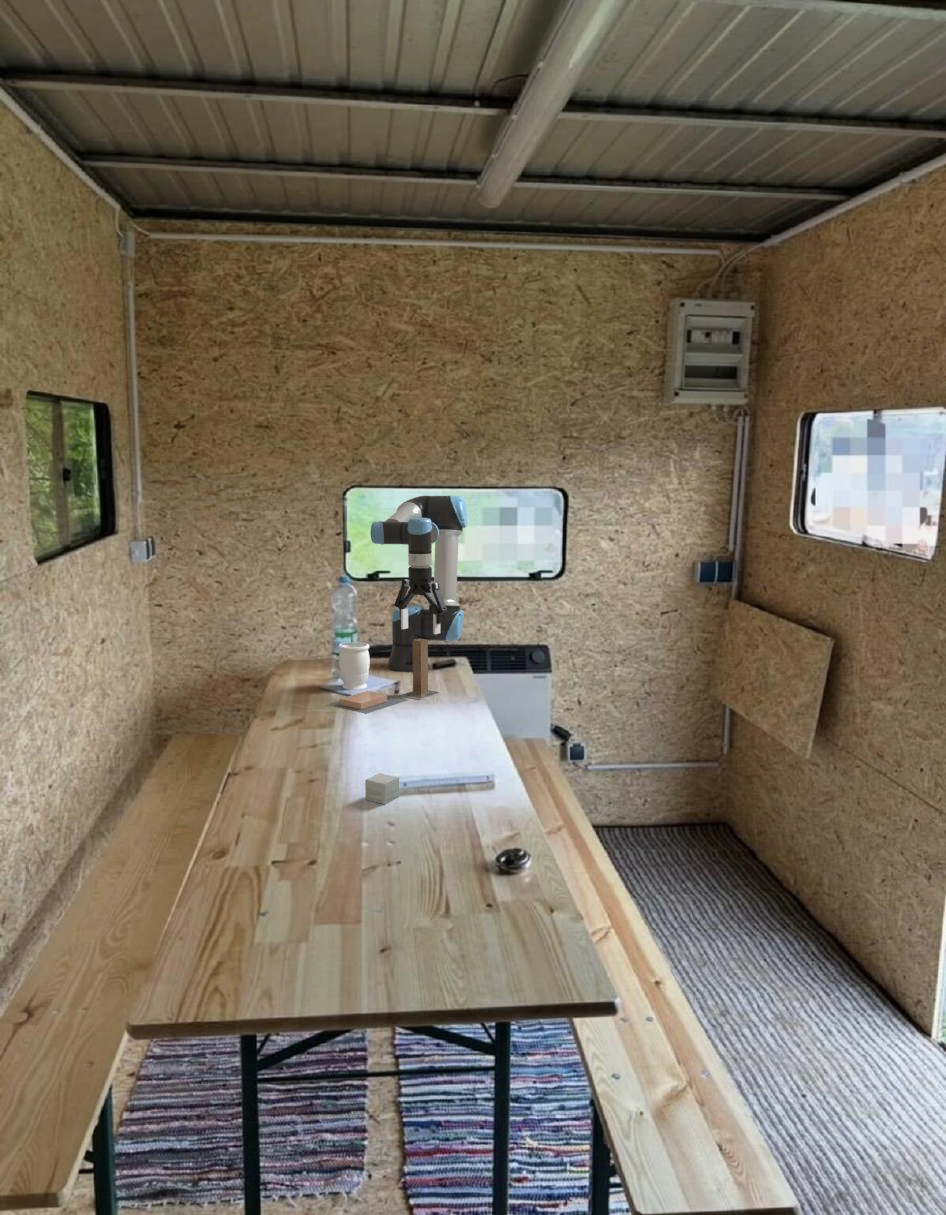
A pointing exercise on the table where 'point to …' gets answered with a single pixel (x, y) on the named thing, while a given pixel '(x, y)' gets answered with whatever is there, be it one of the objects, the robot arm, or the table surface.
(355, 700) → the terracotta tile
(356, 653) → the jar
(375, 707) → the slate rubber mat
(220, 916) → the table surface
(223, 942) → the table surface
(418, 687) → the tall wooden post
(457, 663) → the table surface
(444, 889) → the table surface
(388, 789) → the small box
